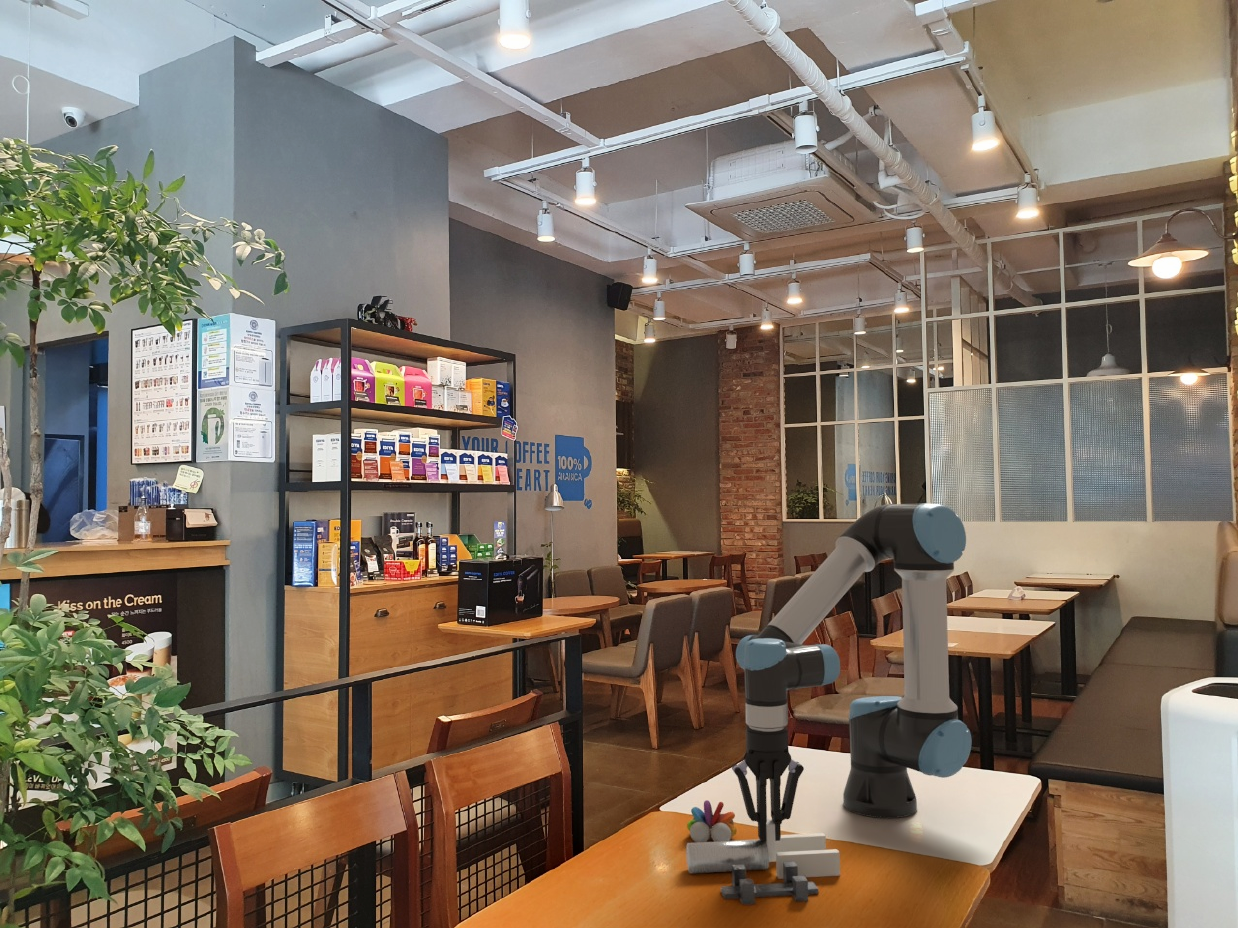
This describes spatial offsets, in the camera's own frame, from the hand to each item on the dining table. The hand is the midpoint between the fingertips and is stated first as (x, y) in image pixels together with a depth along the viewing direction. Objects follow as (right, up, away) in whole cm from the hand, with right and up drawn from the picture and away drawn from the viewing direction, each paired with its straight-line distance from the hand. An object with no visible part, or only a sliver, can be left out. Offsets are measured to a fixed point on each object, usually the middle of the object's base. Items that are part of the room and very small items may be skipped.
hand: (769, 858), depth 164 cm
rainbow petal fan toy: (-9, -3, +15) cm, 18 cm away
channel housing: (+6, -2, +1) cm, 6 cm away
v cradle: (-2, -1, -10) cm, 10 cm away
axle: (-8, +1, 0) cm, 8 cm away
